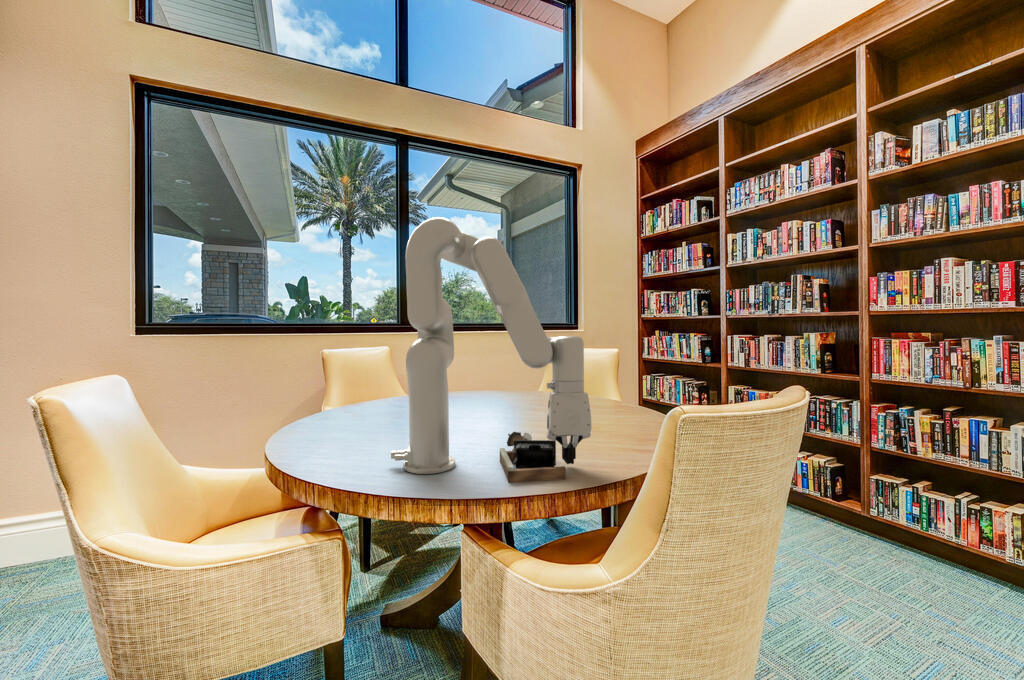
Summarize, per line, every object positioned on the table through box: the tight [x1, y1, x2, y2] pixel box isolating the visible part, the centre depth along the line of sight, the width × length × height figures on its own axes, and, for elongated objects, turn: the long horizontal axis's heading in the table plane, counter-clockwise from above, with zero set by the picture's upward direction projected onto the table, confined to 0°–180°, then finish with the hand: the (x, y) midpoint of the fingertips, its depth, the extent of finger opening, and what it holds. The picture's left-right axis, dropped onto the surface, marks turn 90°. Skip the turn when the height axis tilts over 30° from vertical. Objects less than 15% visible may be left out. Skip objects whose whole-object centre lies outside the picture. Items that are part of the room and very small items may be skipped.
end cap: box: [513, 439, 557, 469], centre depth 106 cm, size 10×7×7 cm
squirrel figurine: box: [506, 431, 533, 451], centre depth 118 cm, size 8×7×9 cm
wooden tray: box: [499, 447, 567, 483], centre depth 106 cm, size 13×15×3 cm
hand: (568, 462), depth 107 cm, fingers closed
